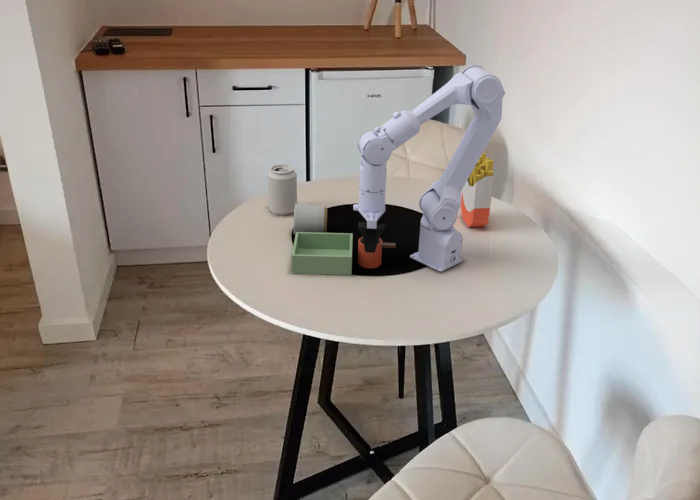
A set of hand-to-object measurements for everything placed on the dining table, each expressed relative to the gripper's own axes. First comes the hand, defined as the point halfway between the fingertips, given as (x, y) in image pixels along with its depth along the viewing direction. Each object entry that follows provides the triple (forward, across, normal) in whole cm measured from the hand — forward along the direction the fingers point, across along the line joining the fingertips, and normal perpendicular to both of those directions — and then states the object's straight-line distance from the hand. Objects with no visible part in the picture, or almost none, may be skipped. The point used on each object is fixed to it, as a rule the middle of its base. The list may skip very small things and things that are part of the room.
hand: (369, 243), depth 153 cm
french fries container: (+5, -23, +27) cm, 36 cm away
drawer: (+5, 0, -10) cm, 12 cm away
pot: (+5, 0, +2) cm, 5 cm away
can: (+5, -28, -22) cm, 36 cm away
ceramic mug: (+5, -16, -15) cm, 22 cm away
